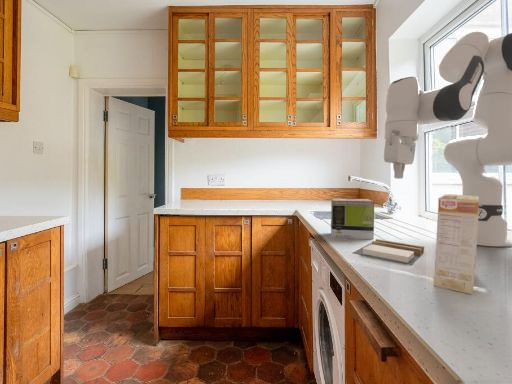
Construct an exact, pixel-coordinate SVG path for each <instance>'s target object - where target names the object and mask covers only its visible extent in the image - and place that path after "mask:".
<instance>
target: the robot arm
mask: <svg viewBox="0 0 512 384" xmlns="http://www.w3.org/2000/svg"><path fill="white" fill-rule="evenodd" d="M437 73H438V76H439V77H440V78H441V80H443V81H444V82H445V83H447V84H448V85H445V86H442V87H439V88H435V89H431V90H428V91H424V90H423V89H422V88H421V87H420V84H419V79H418V77H416V76H407V77H403V78H402V77H401V78H400V79H395V80H394V81H392V82H391V83H390V84H389V87H388V89H387V94H386V102H385V103H386V104H385V112H386V120H385V125H384V140H385V141H384V150H383V159H384V162H385V163H389V164H392V165H393V166H392V167H393V173H394V179H399V180H400V179H403V178H404V172H405V169H406V165H413V163H414V159H415V154H416V153H415V152H416V145H417V142H418V141H419V133H418V132H419V131H418V130H419V126H421V125H429V124H434V123H440V122H450V121H459V120H461V119H462V118H463V117H465V115H467V113H468V112H469V111H470V109H471V106H472V102H473V97H474V94H475V92H476V90H477V88H478V86H479V84H480V82H481V84H480V86H479V89H478V91H477V95H476V99H475V105H474V109H473V114H472V121H473V123H474V124H475V125H476V126H477V127H480V128H482V129H486V130H487V131H486V134H484V135H473V136H466V137H465V136H464V137H459V138H456V139H453V140H450V141H449V142H448V143H447V144H446V145H445V148H444V149H443V156H444V159H445V161H446V162H447V163H448V164H449V165H451V166H452V167H453V168H454V169H455V170H456V171H457V173H458V174H459V177H460V179H461V184H462V195H469V196H478V197H479V211H478V232H477V246H482V247H484V246H485V247H510V248H511V247H512V241H510V240H508V239H507V238H508V221H506V220H505V219H504V218H503V217H502V216H503V211H504V205H503V204H502V197H503V188H504V187H503V183H502V182H501V180H499V179H498V178H496V177H494V176H492V175H489V174H488V173H487V172H486V170H485V166H486V167H487V166H488V167H489V166H490V167H491V166H510V165H512V32H510V33H508V34H506V35H504V36H499V37H498V38H494V39H491V40H490V37H489V36H488V35H487V34H486V33H484V32H481V31H472V32H469V33H467V34H466V35H464V36H462V37H461V38H459V39H458V40H457V41H456V42H455V43H454V44H452V46H450V48H449V49H448V50H447V51H446V52H445V54H444V55H443V56H442V57H441V59H440V61H439V62H438V66H437ZM481 79H482V81H481Z"/></svg>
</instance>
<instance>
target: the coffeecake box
mask: <svg viewBox="0 0 512 384" xmlns="http://www.w3.org/2000/svg"><path fill="white" fill-rule="evenodd" d="M437 199H438V200H437V202H438V205H437V207H438V208H437V222H436V223H437V224H436V240H435V241H436V243H435V261H434V262H435V263H434V277H433V278H434V279H433V280H434V281H433V286H434V287H436V286H437V287H436V288H440V287H441V289H446V290H450V291H456V292H459V293H464V294H467V295H473V293H474V286H475V278H476V277H475V276H476V262H477V247H478V245H477V232H478V211H479V197H478V196H469V195H463V194H456V193H455V194H452V193H451V194H443V195H441V196H440V197H438V198H437Z"/></svg>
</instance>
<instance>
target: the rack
mask: <svg viewBox="0 0 512 384" xmlns="http://www.w3.org/2000/svg"><path fill="white" fill-rule="evenodd" d="M371 243H372V245H378V246H384V247H390V248H395V249H401V250H407V251H413V252H414V255H420V257H421V256H422V255H423V254H424V253H425V246H422V245H416V244H410V243H405V242H397V241H391V240H385V239H379V238H378V239H377V238H376V239H375V240H372V241H371ZM422 253H423V254H422Z"/></svg>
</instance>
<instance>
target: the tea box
mask: <svg viewBox="0 0 512 384" xmlns="http://www.w3.org/2000/svg"><path fill="white" fill-rule="evenodd" d="M330 205H331V206H330V207H331V210H330V211H331V212H330V233H331V238H332V239H333V238H343V239H345V238H347V239H362V240H374V239H375V238H374V236H375V235H374V233H375V232H374V231H375V201H374V200H372V199H370V198H369V199H368V198H331V204H330Z"/></svg>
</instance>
